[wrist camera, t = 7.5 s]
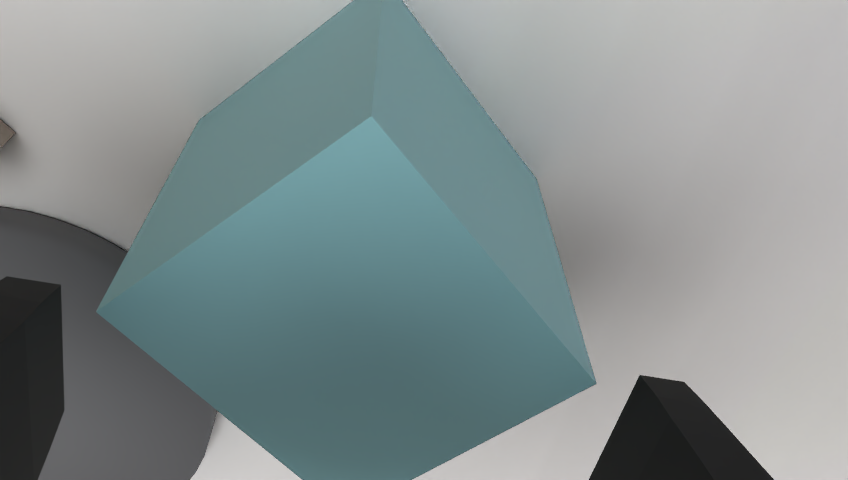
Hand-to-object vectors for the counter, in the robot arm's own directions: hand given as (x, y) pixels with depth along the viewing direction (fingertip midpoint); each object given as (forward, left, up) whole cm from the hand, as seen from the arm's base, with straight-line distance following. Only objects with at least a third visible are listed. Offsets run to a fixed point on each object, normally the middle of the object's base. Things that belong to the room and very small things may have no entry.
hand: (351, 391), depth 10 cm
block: (0, 0, -7) cm, 7 cm away
